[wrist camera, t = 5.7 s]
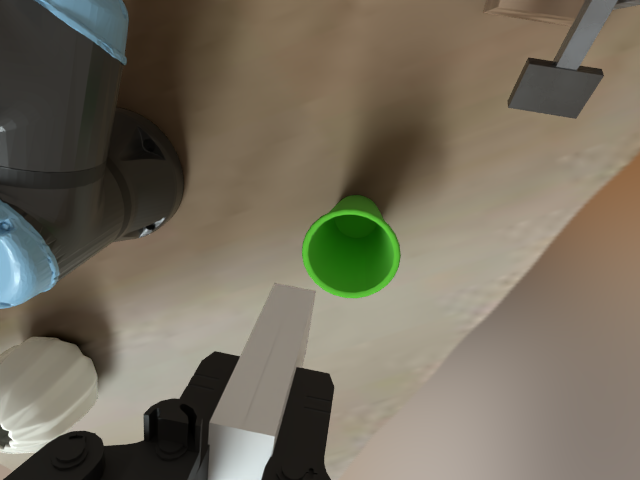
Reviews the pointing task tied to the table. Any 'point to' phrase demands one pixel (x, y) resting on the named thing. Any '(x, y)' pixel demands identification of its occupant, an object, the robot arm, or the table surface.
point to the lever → (564, 69)
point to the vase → (43, 392)
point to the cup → (351, 249)
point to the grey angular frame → (544, 9)
